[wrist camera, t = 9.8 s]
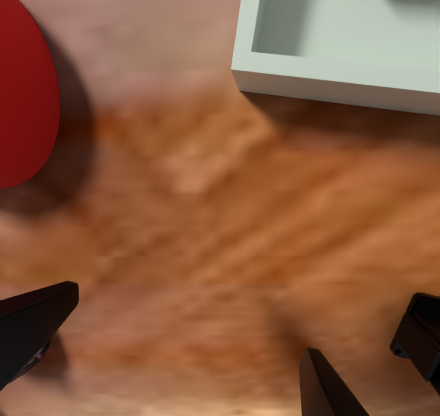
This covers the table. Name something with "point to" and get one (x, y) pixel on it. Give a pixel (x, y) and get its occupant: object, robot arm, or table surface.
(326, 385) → the robot arm
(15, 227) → the table surface
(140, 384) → the table surface
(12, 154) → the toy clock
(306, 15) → the walled box
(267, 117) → the table surface
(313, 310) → the table surface
